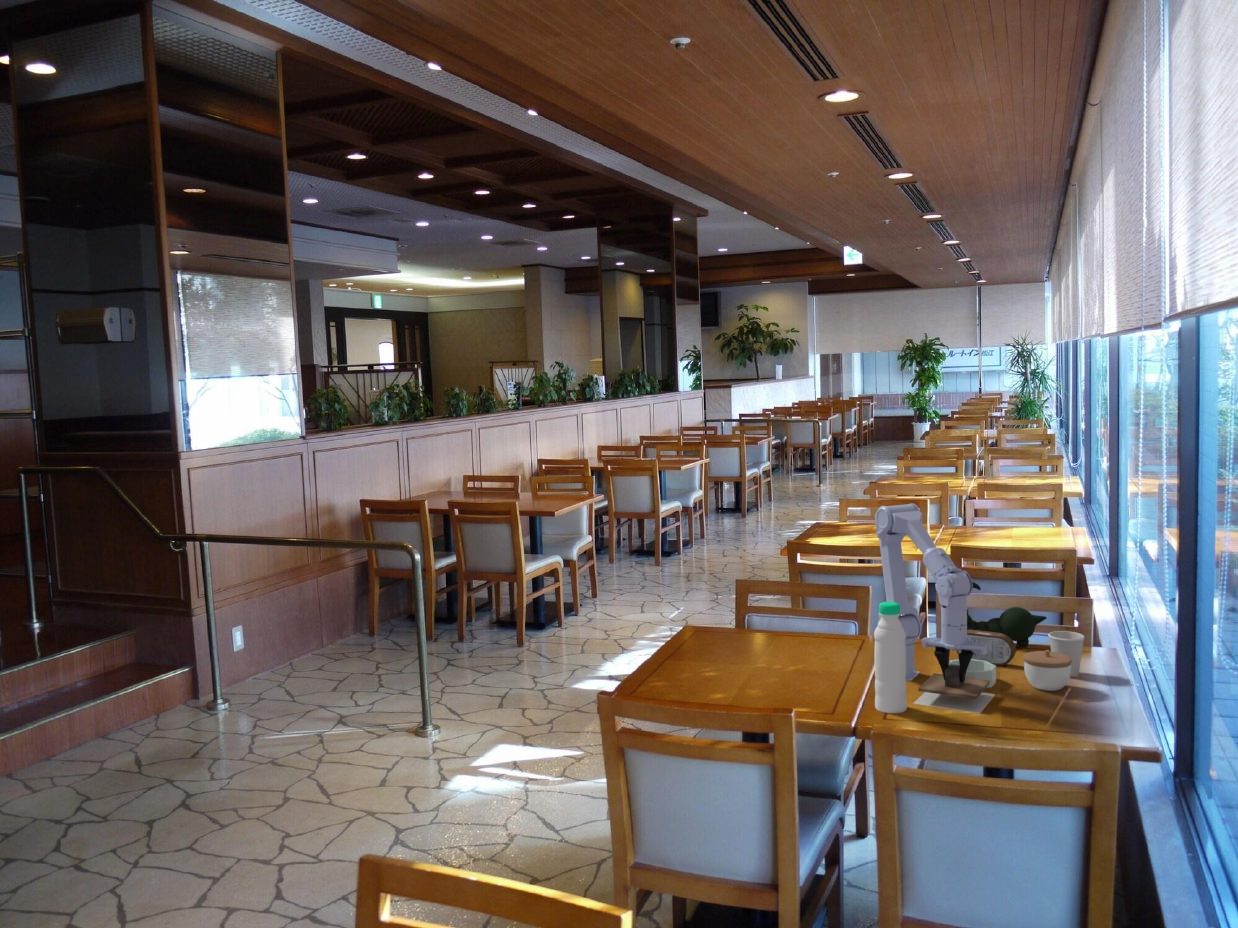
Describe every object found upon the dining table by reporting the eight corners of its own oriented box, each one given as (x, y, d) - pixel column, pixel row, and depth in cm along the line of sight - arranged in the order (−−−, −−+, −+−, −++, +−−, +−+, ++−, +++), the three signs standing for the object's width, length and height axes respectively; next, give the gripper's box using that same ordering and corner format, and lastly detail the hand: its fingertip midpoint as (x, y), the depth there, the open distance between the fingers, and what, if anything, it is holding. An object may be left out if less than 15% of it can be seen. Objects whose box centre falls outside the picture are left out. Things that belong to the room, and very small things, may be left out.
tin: (1016, 665, 258) (1016, 633, 257) (1013, 668, 255) (1013, 636, 255) (957, 658, 266) (956, 627, 265) (954, 661, 263) (953, 630, 263)
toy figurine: (952, 651, 278) (1048, 651, 267) (945, 585, 277) (1041, 582, 266) (957, 643, 286) (1050, 642, 275) (950, 578, 286) (1043, 575, 274)
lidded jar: (1076, 696, 232) (1076, 657, 231) (1028, 694, 234) (1028, 656, 233) (1065, 682, 243) (1065, 644, 242) (1019, 680, 245) (1019, 643, 244)
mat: (913, 705, 230) (913, 703, 230) (931, 687, 242) (931, 685, 242) (979, 715, 222) (979, 713, 222) (995, 695, 234) (995, 694, 234)
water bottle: (901, 716, 222) (900, 607, 220) (870, 712, 226) (869, 604, 224) (910, 707, 228) (909, 601, 226) (880, 703, 232) (878, 598, 230)
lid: (918, 690, 230) (918, 671, 229) (934, 675, 241) (934, 656, 240) (976, 699, 223) (976, 678, 222) (989, 683, 234) (989, 663, 233)
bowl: (941, 686, 243) (941, 668, 242) (953, 674, 252) (953, 656, 252) (988, 692, 237) (988, 674, 236) (999, 679, 246) (999, 662, 246)
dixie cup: (1064, 667, 254) (1064, 629, 254) (1092, 675, 247) (1092, 636, 246) (1040, 672, 251) (1040, 633, 250) (1068, 680, 243) (1068, 641, 243)
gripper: (917, 623, 231) (918, 680, 232) (982, 630, 223) (982, 689, 224) (926, 617, 237) (926, 672, 238) (989, 623, 229) (989, 680, 230)
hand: (954, 680), depth 232 cm, fingers closed on lid, 3 cm apart
